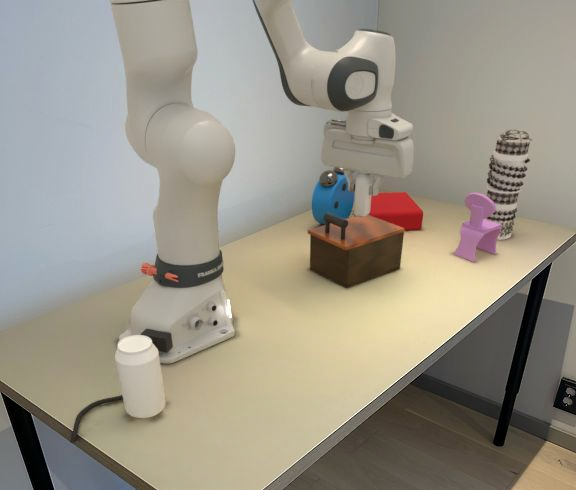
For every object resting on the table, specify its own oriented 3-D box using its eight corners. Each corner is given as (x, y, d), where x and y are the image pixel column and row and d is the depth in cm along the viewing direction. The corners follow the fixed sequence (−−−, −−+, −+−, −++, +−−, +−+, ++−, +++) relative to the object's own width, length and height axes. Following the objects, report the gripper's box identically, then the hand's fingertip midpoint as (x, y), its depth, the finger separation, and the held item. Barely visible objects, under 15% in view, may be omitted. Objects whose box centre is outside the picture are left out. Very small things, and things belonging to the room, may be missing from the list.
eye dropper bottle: (377, 212, 128) (382, 155, 121) (360, 218, 125) (364, 160, 118) (362, 208, 130) (366, 151, 124) (345, 213, 127) (348, 156, 121)
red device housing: (355, 210, 168) (356, 193, 166) (403, 208, 170) (405, 191, 167) (368, 232, 154) (370, 213, 151) (421, 230, 155) (423, 211, 152)
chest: (346, 288, 126) (349, 249, 121) (309, 269, 134) (310, 232, 129) (400, 269, 134) (404, 231, 129) (361, 252, 143) (364, 217, 138)
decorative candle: (493, 225, 158) (513, 126, 144) (520, 235, 152) (544, 133, 137) (468, 231, 154) (486, 130, 140) (495, 242, 148) (517, 137, 133)
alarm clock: (334, 216, 165) (337, 160, 156) (354, 220, 162) (357, 164, 153) (310, 229, 156) (311, 171, 147) (330, 234, 153) (332, 175, 144)
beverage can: (138, 395, 94) (126, 329, 87) (173, 401, 92) (164, 335, 86) (118, 417, 89) (104, 350, 82) (155, 425, 88) (143, 357, 81)
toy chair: (500, 254, 141) (514, 192, 133) (477, 263, 137) (490, 199, 128) (472, 244, 147) (484, 183, 138) (449, 252, 142) (460, 190, 134)
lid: (346, 250, 121) (347, 227, 118) (307, 233, 129) (307, 211, 126) (404, 231, 129) (406, 209, 127) (364, 216, 138) (366, 195, 135)
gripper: (316, 119, 120) (314, 187, 128) (406, 132, 110) (398, 205, 118) (332, 115, 124) (330, 181, 132) (421, 126, 114) (412, 197, 122)
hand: (363, 192), depth 125 cm, fingers closed on eye dropper bottle, 4 cm apart
